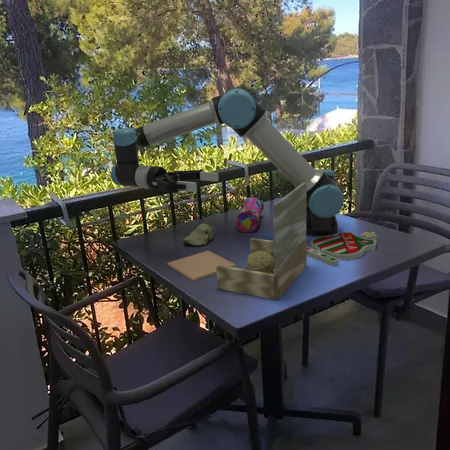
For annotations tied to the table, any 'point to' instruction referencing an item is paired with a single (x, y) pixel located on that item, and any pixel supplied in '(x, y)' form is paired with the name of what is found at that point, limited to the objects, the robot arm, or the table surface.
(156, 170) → the robot arm
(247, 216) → the pencil case
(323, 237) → the decorative emblem
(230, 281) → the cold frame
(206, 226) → the rock
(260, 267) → the olive rounded lump
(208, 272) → the terracotta tile
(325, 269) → the table surface
